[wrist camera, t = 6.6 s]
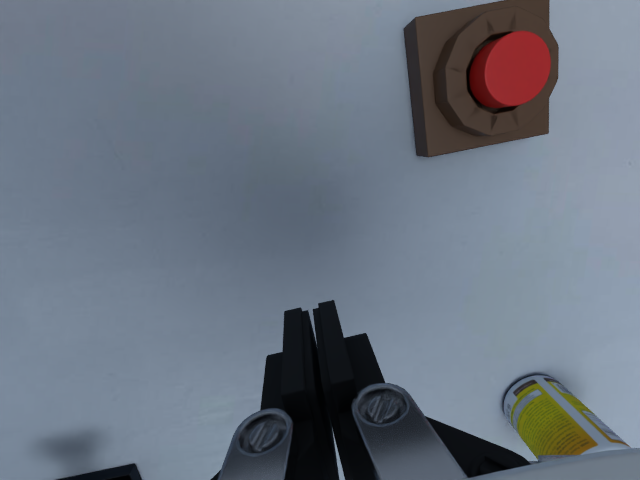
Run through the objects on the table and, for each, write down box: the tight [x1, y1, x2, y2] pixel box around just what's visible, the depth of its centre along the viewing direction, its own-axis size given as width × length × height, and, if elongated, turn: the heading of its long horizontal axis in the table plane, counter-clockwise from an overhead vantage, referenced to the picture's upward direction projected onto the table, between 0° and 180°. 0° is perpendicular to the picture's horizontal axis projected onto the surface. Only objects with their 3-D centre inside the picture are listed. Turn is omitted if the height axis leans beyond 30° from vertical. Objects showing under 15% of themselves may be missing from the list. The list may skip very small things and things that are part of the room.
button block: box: [404, 0, 559, 157], centre depth 22 cm, size 8×8×4 cm
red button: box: [469, 31, 551, 108], centre depth 19 cm, size 4×4×2 cm
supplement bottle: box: [504, 375, 631, 459], centre depth 27 cm, size 6×6×10 cm
